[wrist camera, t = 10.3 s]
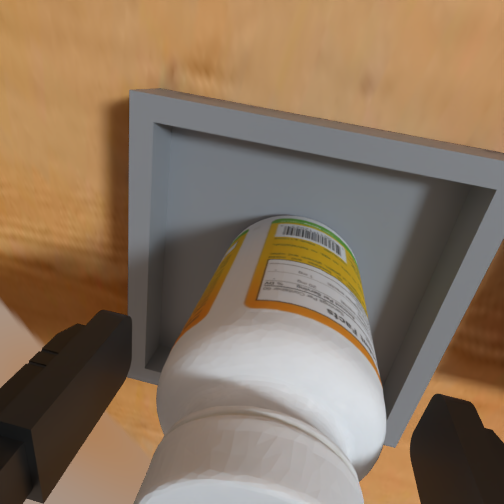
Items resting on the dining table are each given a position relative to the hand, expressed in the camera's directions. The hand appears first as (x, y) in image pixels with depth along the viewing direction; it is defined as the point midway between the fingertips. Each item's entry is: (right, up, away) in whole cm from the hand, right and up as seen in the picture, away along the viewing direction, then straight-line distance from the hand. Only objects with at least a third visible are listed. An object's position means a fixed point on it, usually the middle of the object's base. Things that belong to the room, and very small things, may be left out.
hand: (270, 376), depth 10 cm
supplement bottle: (+1, +2, +5) cm, 6 cm away
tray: (+1, +3, +6) cm, 6 cm away
